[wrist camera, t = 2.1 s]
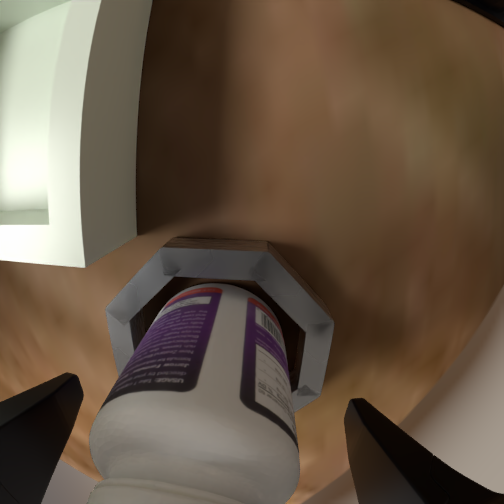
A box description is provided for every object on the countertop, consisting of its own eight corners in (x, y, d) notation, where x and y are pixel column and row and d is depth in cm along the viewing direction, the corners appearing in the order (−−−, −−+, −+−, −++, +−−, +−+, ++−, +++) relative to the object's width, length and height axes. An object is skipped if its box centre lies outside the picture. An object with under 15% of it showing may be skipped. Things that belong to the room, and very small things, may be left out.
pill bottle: (152, 368, 13) (70, 547, 4) (168, 263, 12) (5, 463, 2) (263, 397, 13) (262, 593, 4) (301, 299, 12) (366, 546, 3)
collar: (334, 244, 11) (344, 255, 10) (307, 412, 14) (311, 433, 12) (114, 235, 11) (97, 244, 10) (139, 399, 14) (130, 418, 12)
